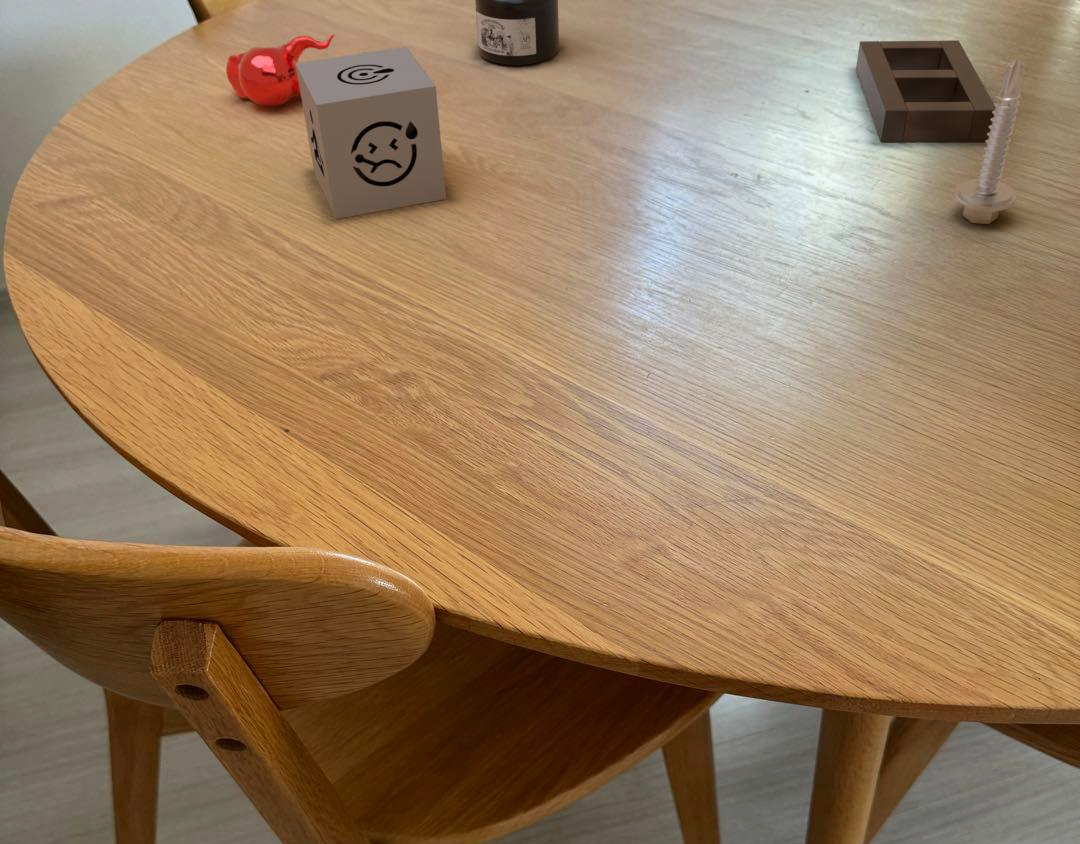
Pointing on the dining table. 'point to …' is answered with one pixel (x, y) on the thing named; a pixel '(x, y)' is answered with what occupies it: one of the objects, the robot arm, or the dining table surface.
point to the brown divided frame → (923, 92)
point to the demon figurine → (270, 71)
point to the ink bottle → (517, 30)
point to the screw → (994, 156)
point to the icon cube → (373, 131)
